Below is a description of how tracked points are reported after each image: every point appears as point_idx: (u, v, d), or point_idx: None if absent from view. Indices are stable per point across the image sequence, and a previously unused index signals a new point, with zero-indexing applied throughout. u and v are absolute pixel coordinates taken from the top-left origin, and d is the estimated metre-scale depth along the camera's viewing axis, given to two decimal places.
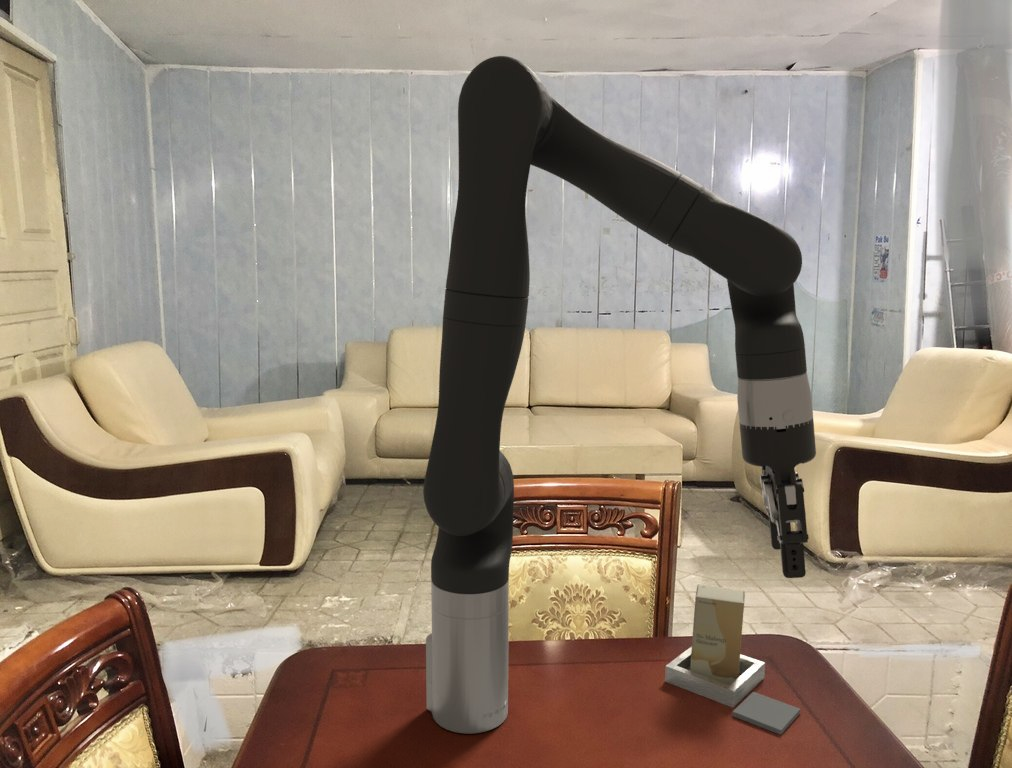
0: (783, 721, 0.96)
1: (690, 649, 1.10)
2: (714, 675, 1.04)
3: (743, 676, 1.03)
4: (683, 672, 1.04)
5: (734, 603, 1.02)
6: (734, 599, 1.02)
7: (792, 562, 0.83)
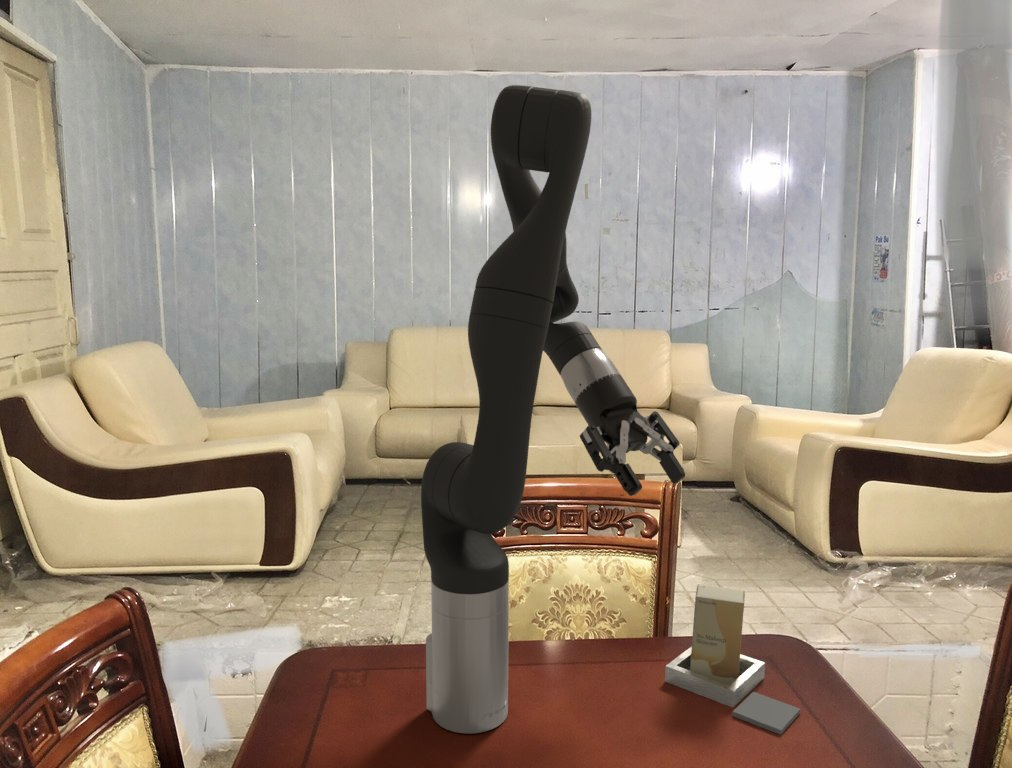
0: (783, 721, 0.96)
1: (690, 649, 1.10)
2: (714, 675, 1.04)
3: (743, 676, 1.03)
4: (683, 672, 1.04)
5: (734, 603, 1.02)
6: (734, 599, 1.02)
7: None
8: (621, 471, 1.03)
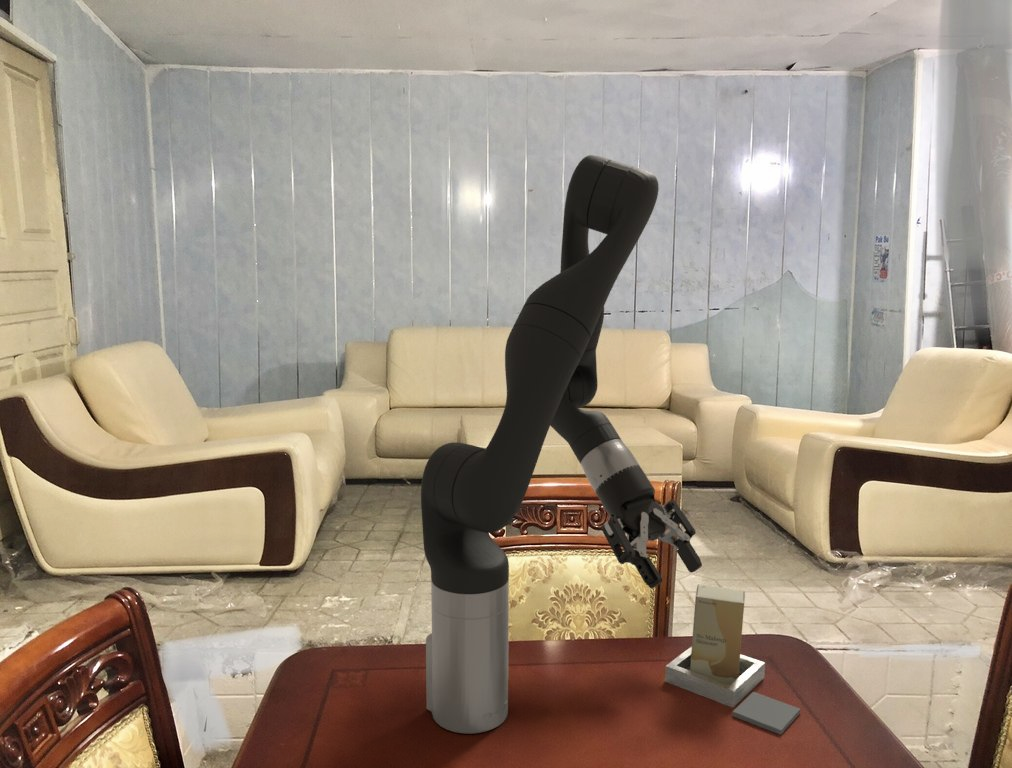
0: (783, 721, 0.96)
1: (690, 649, 1.10)
2: (714, 675, 1.04)
3: (743, 676, 1.03)
4: (683, 672, 1.04)
5: (734, 603, 1.02)
6: (734, 599, 1.02)
7: None
8: (642, 564, 1.07)
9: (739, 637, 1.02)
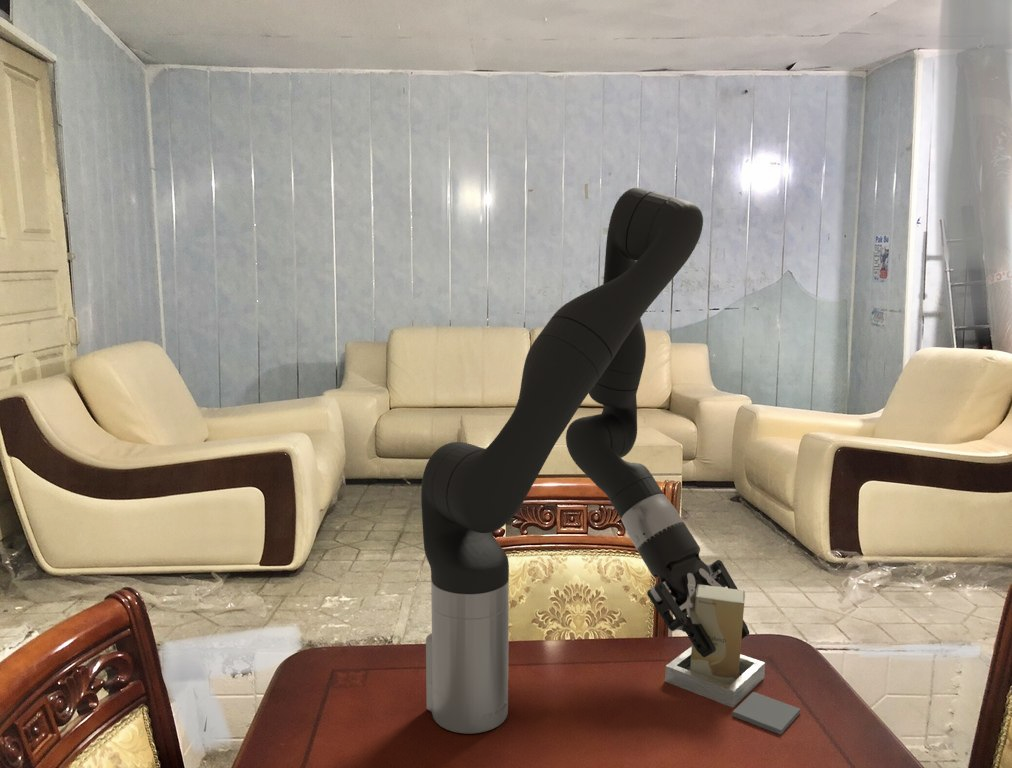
0: (783, 721, 0.96)
1: (690, 649, 1.10)
2: (714, 675, 1.04)
3: (743, 676, 1.03)
4: (683, 672, 1.04)
5: (734, 603, 1.02)
6: (734, 599, 1.02)
7: None
8: (694, 632, 1.02)
9: (739, 637, 1.02)
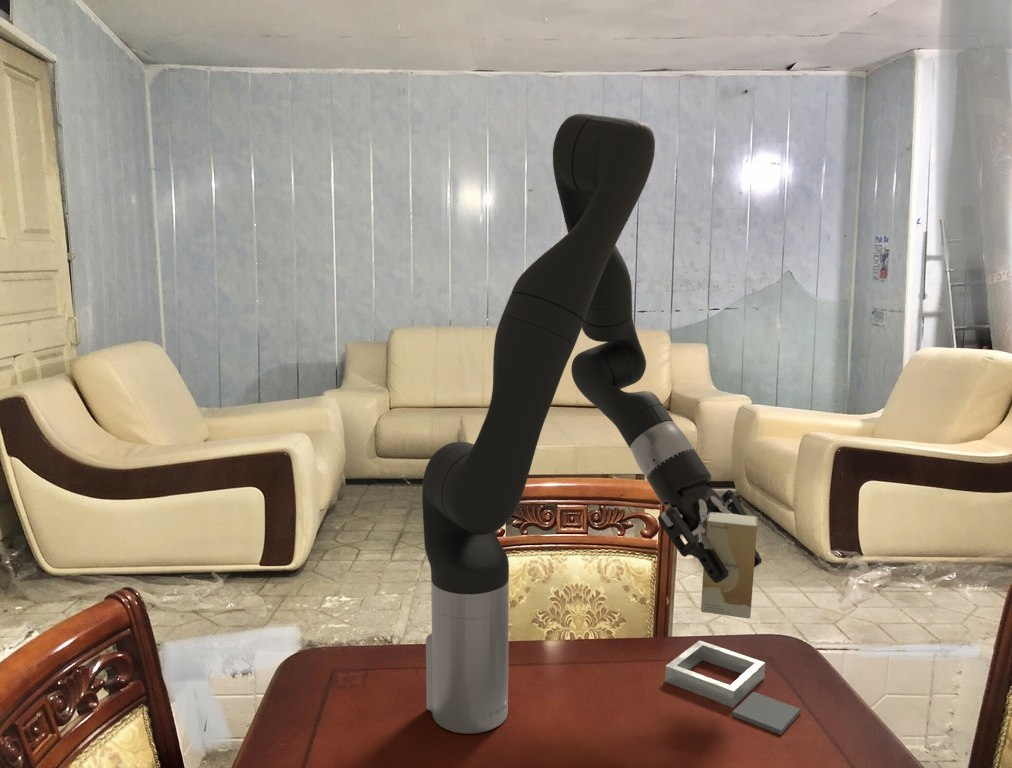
0: (783, 721, 0.96)
1: (690, 649, 1.10)
2: (727, 603, 1.01)
3: (743, 676, 1.03)
4: (683, 672, 1.04)
5: (746, 526, 0.99)
6: (746, 523, 1.00)
7: None
8: (706, 557, 0.99)
9: (752, 562, 0.99)
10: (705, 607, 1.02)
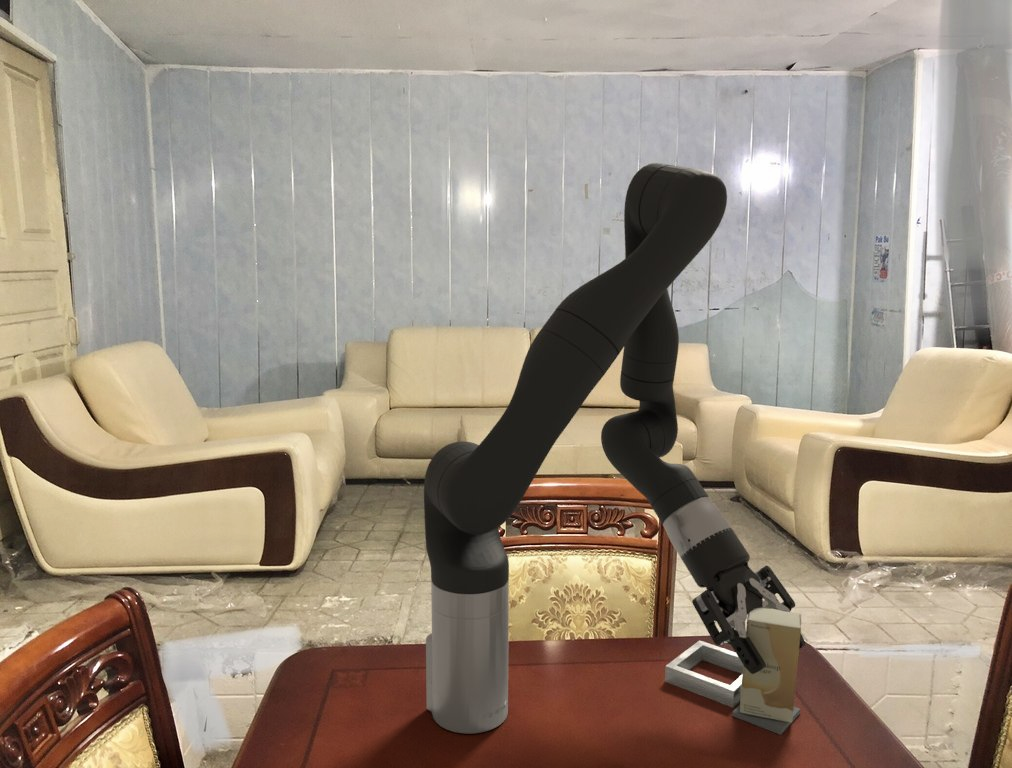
0: (783, 721, 0.96)
1: (690, 649, 1.10)
2: (767, 705, 0.96)
3: None
4: (683, 672, 1.04)
5: (790, 628, 0.94)
6: (790, 624, 0.94)
7: None
8: (742, 647, 0.94)
9: (795, 665, 0.94)
10: (744, 708, 0.97)
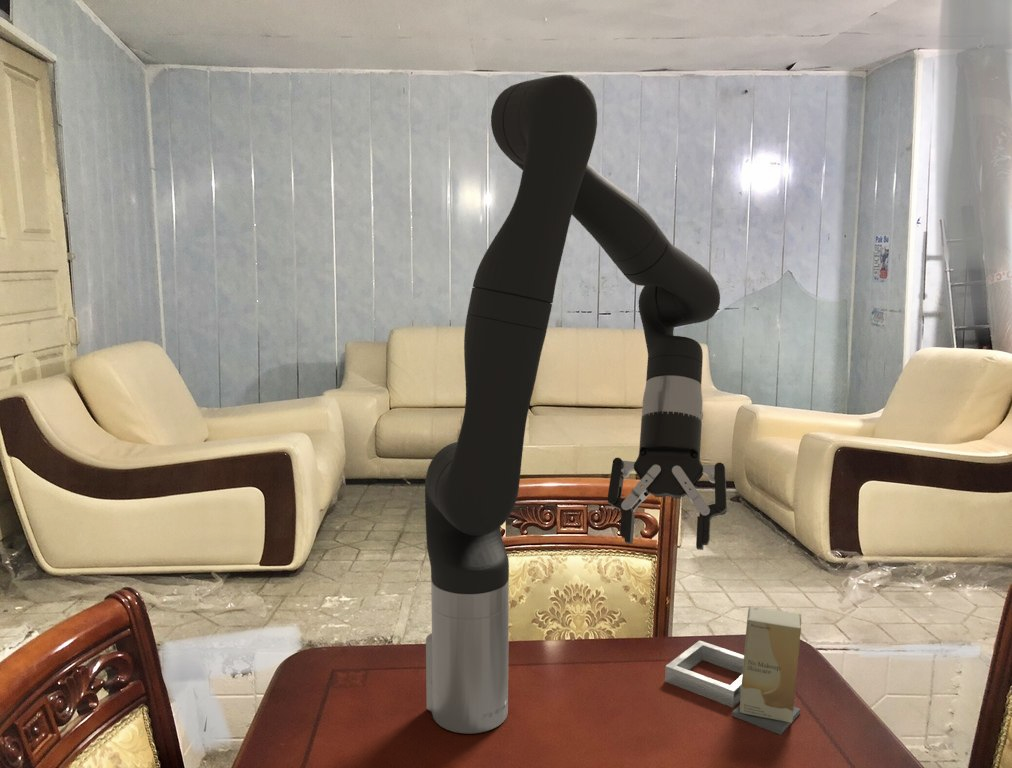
0: (783, 721, 0.96)
1: (690, 649, 1.10)
2: (767, 705, 0.96)
3: None
4: (683, 672, 1.04)
5: (790, 628, 0.94)
6: (790, 624, 0.94)
7: (708, 533, 0.96)
8: (621, 516, 1.00)
9: (795, 665, 0.94)
10: (744, 708, 0.97)
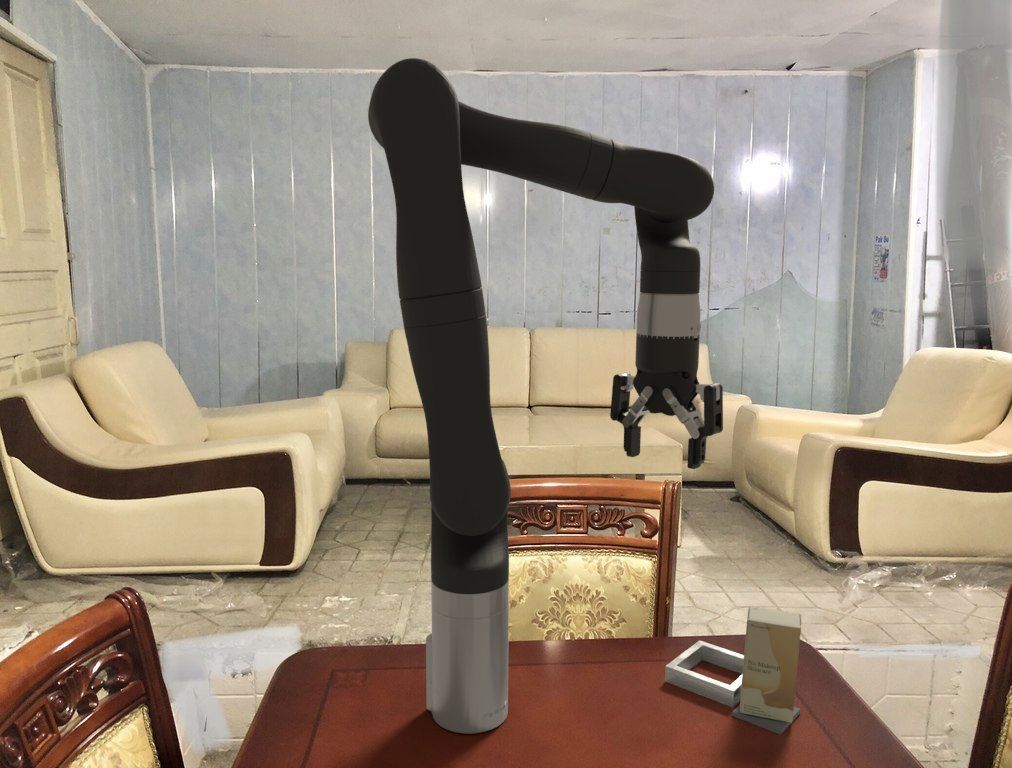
0: (783, 721, 0.96)
1: (690, 649, 1.10)
2: (767, 705, 0.96)
3: None
4: (683, 672, 1.04)
5: (790, 628, 0.94)
6: (790, 624, 0.94)
7: (701, 453, 0.96)
8: (624, 432, 1.02)
9: (795, 665, 0.94)
10: (744, 708, 0.97)
